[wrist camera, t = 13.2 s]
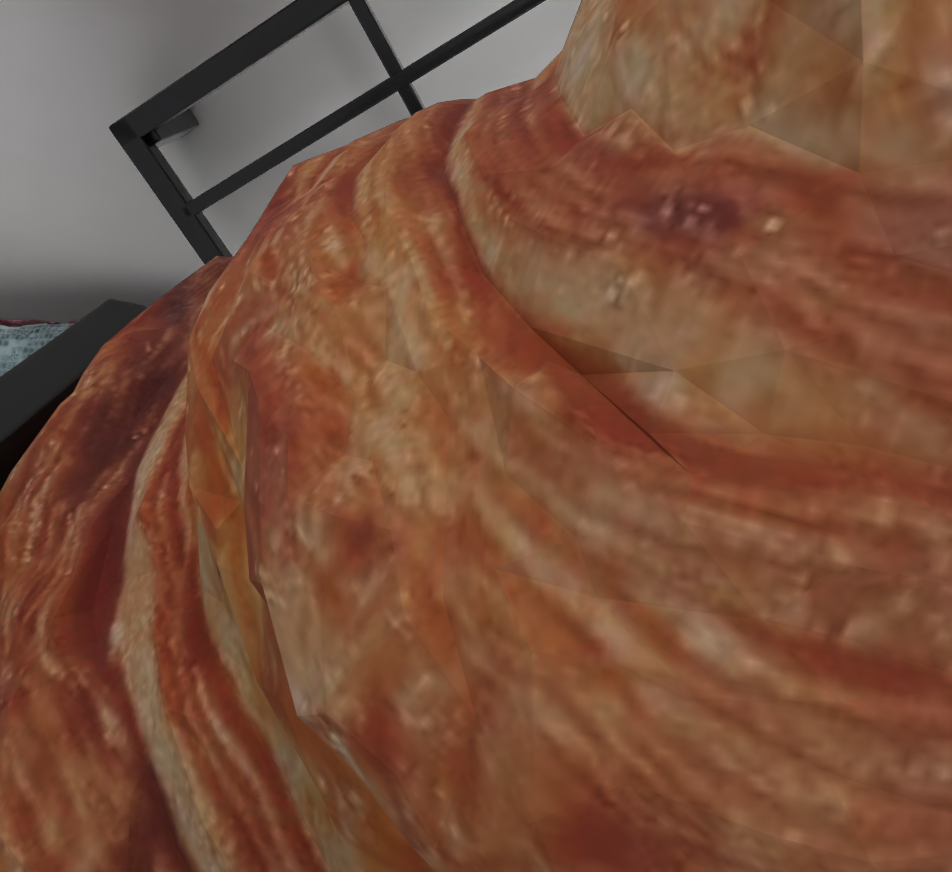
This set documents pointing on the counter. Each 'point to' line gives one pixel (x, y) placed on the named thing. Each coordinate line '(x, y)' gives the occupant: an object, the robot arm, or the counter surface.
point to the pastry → (525, 487)
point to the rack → (173, 120)
